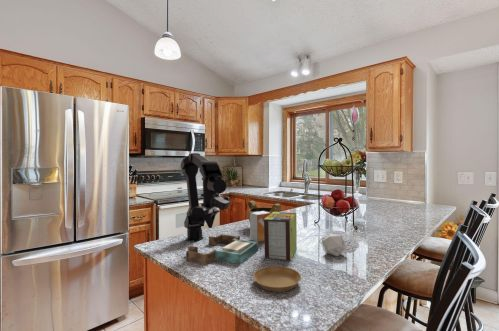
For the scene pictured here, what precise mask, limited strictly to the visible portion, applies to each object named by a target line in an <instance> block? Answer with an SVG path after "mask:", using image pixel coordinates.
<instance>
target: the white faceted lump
mask: <svg viewBox="0 0 499 331" xmlns="http://www.w3.org/2000/svg"><path fill="white" fill-rule="evenodd" d="M321 243H322V245H323V247H324V251H325V252H326V254H328V255H331V256H335V257H339V256H340V255H341V254H342V253H343V252H344V251H345V250H346V249H347V246H346V245H347V244H346V243H345V240H344V238H343V236H342V235H340V234H334V233H332V232H330V233H329V234H327V236H326V237H325V238H323V240H322V242H321Z"/></svg>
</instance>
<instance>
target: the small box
mask: <svg viewBox="0 0 499 331" xmlns="http://www.w3.org/2000/svg"><path fill="white" fill-rule="evenodd" d="M270 214H271V213H269V212H265V211H260V212H253V213H250V222H249V233H250V234H249V240H251V241H252V242H258V243H259V242H264V219H265V218H266V217H267V216H268V215H270Z"/></svg>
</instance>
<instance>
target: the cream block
mask: <svg viewBox="0 0 499 331" xmlns="http://www.w3.org/2000/svg"><path fill="white" fill-rule="evenodd" d="M249 246H250V243H247V242H240V241H235V242H233V243H231V244H229V245H227V246H222V250H221V251H227V252H233V253H241V252H242V251H244V250H245V249H247V248H248V247H249Z"/></svg>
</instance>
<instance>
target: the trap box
mask: <svg viewBox="0 0 499 331" xmlns="http://www.w3.org/2000/svg"><path fill="white" fill-rule="evenodd" d="M235 241H240V242H247V243H250V246H249V247H248V248H247V249H245V250H244V251H242V252H241V253H233V252H227V251H222V250H219V249H213V250H211V251H209V252H208V253H204V252H199V251H198V250H199V248H198V246H193V245H188V246H187V250H186V251H185V255H186V256H185V259H186V262H193V263H197V264H203V265H210V264H211V263H213V262H215V261H219V262H220V261H221V262H225V263H233V264H238V265H242V264H243V263H244V262H245V261H247V260H249V258H251V257H253V255H255V253H256V252H258V251H259V242H256V241H253V240H251V241H250V240H245V239H244V240H242V239H241V236H239V235H232V234H231V235H230V234H223V233H220V234H218V235H217V236H211V235H210V236H208V245H210V246H211V245H212V246H220V247H225V246H227V245H229V244H231V243H233V242H235Z"/></svg>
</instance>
